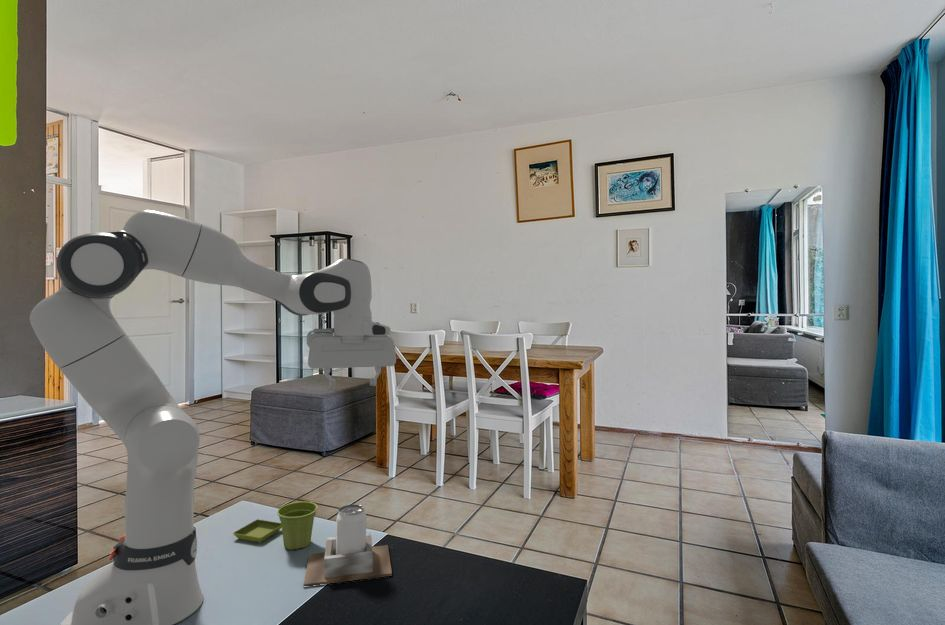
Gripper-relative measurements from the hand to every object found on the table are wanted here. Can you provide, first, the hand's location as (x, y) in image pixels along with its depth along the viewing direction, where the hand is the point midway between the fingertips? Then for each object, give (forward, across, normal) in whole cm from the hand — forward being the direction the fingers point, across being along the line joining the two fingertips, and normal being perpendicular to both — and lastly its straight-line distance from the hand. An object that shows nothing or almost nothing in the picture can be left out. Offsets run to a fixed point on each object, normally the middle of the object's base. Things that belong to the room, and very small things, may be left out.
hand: (352, 386), depth 116 cm
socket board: (+40, -1, -7) cm, 41 cm away
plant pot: (+39, -13, +7) cm, 42 cm away
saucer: (+40, -23, +15) cm, 48 cm away
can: (+39, -1, -7) cm, 39 cm away
